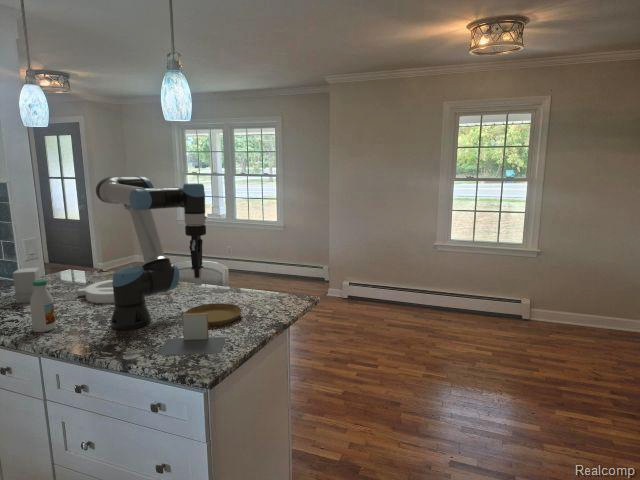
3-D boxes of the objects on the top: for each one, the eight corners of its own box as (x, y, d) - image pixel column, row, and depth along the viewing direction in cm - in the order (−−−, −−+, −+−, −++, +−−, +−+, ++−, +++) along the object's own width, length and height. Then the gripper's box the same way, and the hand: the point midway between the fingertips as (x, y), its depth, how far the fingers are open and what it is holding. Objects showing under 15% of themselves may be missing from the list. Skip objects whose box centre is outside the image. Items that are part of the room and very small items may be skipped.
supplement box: (43, 296, 206) (40, 267, 203) (37, 301, 198) (34, 271, 195) (22, 297, 203) (19, 268, 201) (15, 303, 195) (11, 272, 192)
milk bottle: (38, 334, 160) (33, 284, 156) (29, 330, 164) (23, 281, 160) (59, 328, 166) (55, 279, 163) (50, 324, 170) (45, 277, 167)
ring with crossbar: (158, 292, 215) (157, 284, 215) (106, 307, 192) (105, 297, 191) (126, 284, 230) (125, 276, 229) (74, 297, 207) (73, 287, 206)
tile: (183, 340, 155) (182, 315, 153) (184, 339, 156) (183, 313, 154) (207, 339, 156) (207, 314, 154) (208, 338, 157) (207, 313, 155)
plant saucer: (198, 308, 192) (197, 301, 192) (248, 310, 190) (248, 304, 189) (174, 327, 169) (174, 320, 168) (231, 331, 166) (231, 323, 166)
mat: (156, 356, 143) (156, 355, 142) (167, 339, 156) (167, 338, 156) (221, 354, 145) (221, 353, 145) (226, 338, 158) (226, 337, 158)
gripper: (202, 226, 149) (205, 289, 153) (208, 222, 162) (210, 280, 166) (181, 227, 149) (184, 290, 153) (188, 222, 161) (191, 281, 165)
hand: (198, 285), depth 159 cm, fingers closed
